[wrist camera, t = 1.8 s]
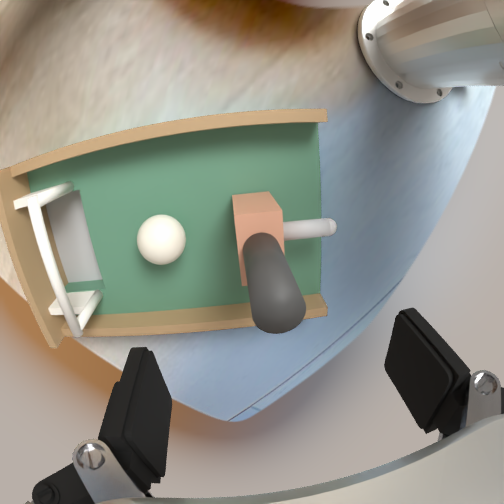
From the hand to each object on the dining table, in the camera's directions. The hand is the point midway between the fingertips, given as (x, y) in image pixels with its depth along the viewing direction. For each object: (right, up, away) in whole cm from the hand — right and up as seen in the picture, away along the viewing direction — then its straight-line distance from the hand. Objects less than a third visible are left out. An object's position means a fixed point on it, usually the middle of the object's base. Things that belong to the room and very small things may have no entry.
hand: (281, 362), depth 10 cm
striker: (+1, +7, +14) cm, 16 cm away
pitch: (-9, +7, +17) cm, 20 cm away
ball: (-8, +5, +12) cm, 16 cm away
